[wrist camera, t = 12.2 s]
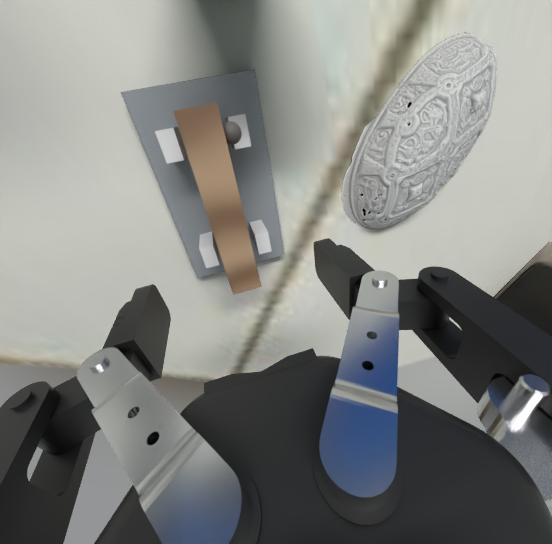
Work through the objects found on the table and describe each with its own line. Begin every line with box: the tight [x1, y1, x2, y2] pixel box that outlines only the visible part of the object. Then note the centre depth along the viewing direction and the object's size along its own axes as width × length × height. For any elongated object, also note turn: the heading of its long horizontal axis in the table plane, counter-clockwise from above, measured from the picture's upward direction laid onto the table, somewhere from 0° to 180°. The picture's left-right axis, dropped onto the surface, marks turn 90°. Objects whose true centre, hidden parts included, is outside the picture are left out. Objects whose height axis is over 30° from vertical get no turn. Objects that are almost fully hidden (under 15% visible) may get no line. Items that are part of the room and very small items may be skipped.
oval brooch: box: [342, 32, 498, 229], centre depth 30 cm, size 16×25×7 cm, turn 150°
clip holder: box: [121, 69, 284, 278], centre depth 26 cm, size 20×12×6 cm, turn 9°
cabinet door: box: [173, 103, 261, 294], centre depth 24 cm, size 16×4×8 cm, turn 9°
